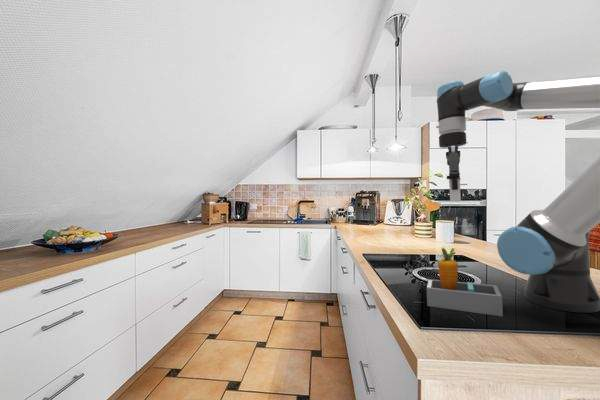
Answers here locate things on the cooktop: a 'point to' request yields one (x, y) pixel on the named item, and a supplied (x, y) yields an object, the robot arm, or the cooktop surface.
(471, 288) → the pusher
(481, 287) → the grey open box
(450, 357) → the cooktop surface
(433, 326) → the cooktop surface
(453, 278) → the carrot
